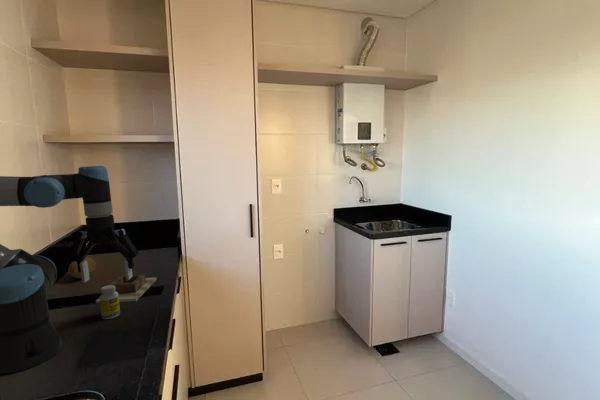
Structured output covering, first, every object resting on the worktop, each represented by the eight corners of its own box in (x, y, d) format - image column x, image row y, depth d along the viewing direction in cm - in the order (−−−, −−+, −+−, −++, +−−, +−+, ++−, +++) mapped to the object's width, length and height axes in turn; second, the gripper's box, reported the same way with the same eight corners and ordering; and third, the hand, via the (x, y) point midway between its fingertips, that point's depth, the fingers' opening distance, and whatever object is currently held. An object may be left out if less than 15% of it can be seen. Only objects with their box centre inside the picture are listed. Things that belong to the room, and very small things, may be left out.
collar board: (136, 301, 117) (135, 289, 117) (96, 303, 116) (94, 291, 116) (156, 279, 137) (155, 269, 136) (122, 281, 136) (120, 271, 135)
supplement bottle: (112, 320, 104) (108, 291, 102) (97, 319, 105) (93, 290, 104) (124, 312, 109) (121, 284, 108) (110, 311, 110) (107, 283, 109)
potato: (64, 284, 134) (61, 266, 133) (75, 273, 148) (73, 256, 146) (91, 281, 137) (88, 263, 136) (100, 270, 150) (98, 253, 149)
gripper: (144, 211, 107) (151, 272, 110) (65, 215, 105) (74, 277, 108) (135, 215, 99) (143, 281, 103) (49, 220, 98) (60, 286, 101)
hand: (108, 279), depth 105 cm, fingers open, 13 cm apart
